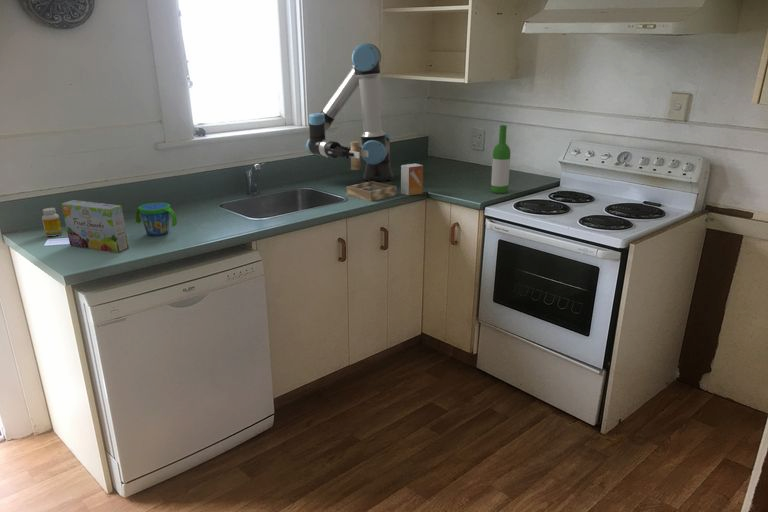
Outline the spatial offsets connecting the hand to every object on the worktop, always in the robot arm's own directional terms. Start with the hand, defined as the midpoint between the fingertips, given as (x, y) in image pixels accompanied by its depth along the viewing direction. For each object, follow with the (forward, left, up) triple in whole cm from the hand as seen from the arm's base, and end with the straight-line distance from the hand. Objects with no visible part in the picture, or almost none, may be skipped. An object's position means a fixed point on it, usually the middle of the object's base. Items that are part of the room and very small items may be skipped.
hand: (363, 154), depth 261 cm
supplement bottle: (+119, -35, -18) cm, 126 cm away
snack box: (+114, -9, -18) cm, 115 cm away
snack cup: (+92, -10, -18) cm, 95 cm away
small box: (-17, +14, -18) cm, 28 cm away
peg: (0, -5, -7) cm, 9 cm away
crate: (-2, +3, -18) cm, 18 cm away
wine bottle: (-46, +41, -18) cm, 65 cm away
